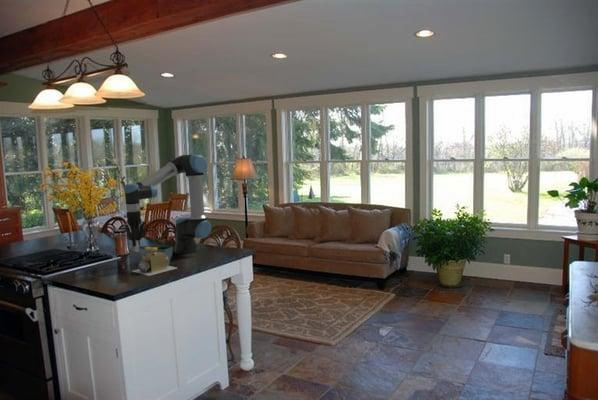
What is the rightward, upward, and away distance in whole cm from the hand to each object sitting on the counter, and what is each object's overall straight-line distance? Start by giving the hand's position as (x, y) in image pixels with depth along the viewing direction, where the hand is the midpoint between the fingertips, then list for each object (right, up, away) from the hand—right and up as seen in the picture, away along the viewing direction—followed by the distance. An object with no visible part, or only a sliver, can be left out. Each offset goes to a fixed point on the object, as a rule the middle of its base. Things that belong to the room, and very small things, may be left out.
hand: (136, 251), depth 274 cm
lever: (+7, +1, +1) cm, 7 cm away
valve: (+11, -10, -1) cm, 15 cm away
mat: (+11, -11, -1) cm, 15 cm away
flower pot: (+10, -9, +19) cm, 23 cm away
